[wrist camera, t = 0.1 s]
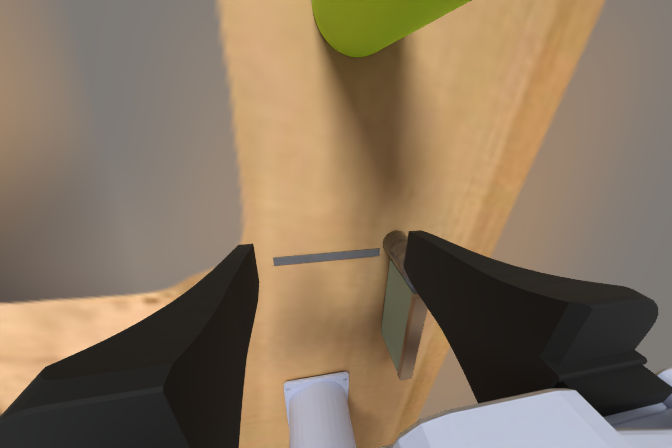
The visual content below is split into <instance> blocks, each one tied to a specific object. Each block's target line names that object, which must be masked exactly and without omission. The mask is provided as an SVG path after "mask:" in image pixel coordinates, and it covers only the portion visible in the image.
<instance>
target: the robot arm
mask: <svg viewBox="0 0 672 448" xmlns="http://www.w3.org/2000/svg"><path fill="white" fill-rule="evenodd" d="M403 267H404V269H405V271H406V274H407V276H408V278H409V280H410V282H411V284H412V285H413V287H414V289H415V290H416V292H417V293H418V295H419V296H420V298H421V299H422V300H423V302H424V303H425V305H426V306H427V308H428V309H429V311H430V312H431V314H432V315H433V317H434V318H435V320H436V321H437V323H438V324H439V326H440V328H441V329H442V331H443V333H444V334H445V336H446V338H447V340H448V342H449V344H450V346H451V348H452V349H453V351H454V353H455V355H456V357H457V359H458V361H459V363H460V365H461V367H462V369H463V372H464V374H465V375H466V378H467V380H468V382H469V385H470V387H471V389H472V391H473V393H474V395H475V398H476V400H477V402H478V404H474V405H470V406H464V407H460V408H455V409H450V410H445V411H442V412H440V413H437V414H434V415H431V416H428V417H426V418H423V419H420V420H419V421H417V422H416V423H414V424H413V425H411V426H410V427H409V428H407V429H406V430H404V431H403V432H401V433H400V434H399V436H398V438H397V439H396V441H395V442H394V444H392V445H387V446H383V447H379V448H672V367H670V368H666V369H663V370H660V371H659V372H657V373H656V374H654V373H653V372H651V371H650V370H648V369H647V368H645V367H644V366H643V364H646V362H647V359H646V358H645V357H644V356H642V355H641V354H640V353H638V352H637V351H635V348H636V347H637V346H638V345H639V343H640V342H641V341H642V339H643V338H644V337H645V336H646V334H647V333H648V332H649V330H650V329H651V327H652V326H653V324H654V323H655V321H656V319H657V316H658V307H657V304H656V303H655V302H654V301H653V300H652V299H650V298H648V297H646V296H644V295H642V294H641V293H639V292H637V291H635V290H633V289H630V288H627V287H624V286H617V285H610V284H602V283H595V282H588V281H581V280H575V279H570V278H564V277H559V276H554V275H549V274H545V273H540V272H536V271H532V270H528V269H524V268H520V267H516V266H513V265H510V264H506V263H503V262H500V261H497V260H494V259H491V258H488V257H486V256H483V255H480V254H478V253H475V252H472V251H470V250H468V249H465V248H463V247H460V246H458V245H456V244H453V243H451V242H449V241H446V240H444V239H442V238H439V237H437V236H435V235H432V234H430V233H427V232H424V231H409V234H408V240H407V247H406V253H405V260H404V266H403ZM258 292H259V278H258V271H257V265H256V259H255V252H254V246H253V244H245V245H238V246H237V247H236V248H235V249H234V250H233V251H232V252H231V253H230V254H229V255H228V256H227V257H226V258H225V259H224V260H223V261H222V262H221V263H220V264H219V265H217V266H216V267H215V268H214V269H213V270H212V271H211V272H210V273H209V274H207V275H206V276H205V277H204V278H203V279H202V280H200V281H199V282H198V283H197V284H196V285H195V286H193V287H192V288H191V289H189V290H188V291H187V292H185V293H184V294H183V295H181V296H180V297H178V298H177V299H176V300H174V301H173V302H171V303H170V304H168V305H167V306H165V307H163V308H162V309H160V310H158V311H157V312H155V313H153V314H152V315H150V316H149V317H147V318H145V319H144V320H142V321H140V322H138V323H137V324H135V325H133V326H131V327H129V328H127V329H126V330H124V331H122V332H120V333H118V334H116V335H114V336H112V337H110V338H108V339H106V340H104V341H102V342H100V343H98V344H96V345H94V346H91V347H89V348H87V349H85V350H83V351H80V352H78V353H76V354H74V355H72V356H69V357H67V358H65V359H63V360H60V361H58V362H56V363H54V364H51V365H49V366H47V367H45V368H44V369H43V370H42V371H41V372H40V373H39V374H38V375H37V377H36V378H35V379H34V380H33V381H32V382H31V383H30V384H29V385H28V386H27V388H26V389H25V390H24V391H23V392H22V393H21V394H20V395H19V396H18V398H17V399H16V400H15V401H14V402H13V403H12V404H11V405H10V406H9V407H8V409H7V410H6V411H5V412H4V413H3V414H2V415H1V416H0V448H239V435H240V422H241V410H242V398H243V387H244V377H245V367H246V359H247V353H248V347H249V342H250V337H251V333H252V328H253V323H254V318H255V313H256V308H257V303H258ZM348 388H349V373H348V372H339V373H333V374H327V375H321V376H315V377H309V378H303V379H298V380H292V381H286V382H285V383H284V395H285V402H286V410H287V418H288V425H289V448H357V447H356V442H355V438H354V433H353V428H352V423H351V418H350V413H349V408H348Z"/></svg>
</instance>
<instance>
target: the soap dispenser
mask: <svg viewBox="0 0 672 448" xmlns="http://www.w3.org/2000/svg"><path fill="white" fill-rule="evenodd" d="M469 1H471V0H312V8H313V13H314V17H315V21H316V23H317V26H318V28H319V30H320V32H321V34H322V35H323V37H324V38H325V40H326V41H327V42H328V43H329V44H330V45H331V46H332V47H333V48H334V49H335V50H337V51H338V52H340V53H342V54H344V55H347V56H350V57H365V56H369V55H372V54H374V53H376V52H377V51H379V50H381V49H383V48H385V47H387V46H388V45H390V44H392V43H394V42H396V41H398V40H400V39H401V38H403V37H405V36H407V35H409V34H411V33H412V32H414V31H416V30H418V29H420V28H422V27H423V26H425V25H427V24H429V23H431V22H433V21H434V20H436V19H438V18H440V17H442V16H444V15H445V14H447V13H449V12H451V11H453V10H455V9H456V8H458V7H460V6H462V5H464V4H466V3H467V2H469Z"/></svg>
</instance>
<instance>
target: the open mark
mask: <svg viewBox="0 0 672 448" xmlns="http://www.w3.org/2000/svg"><path fill="white" fill-rule="evenodd" d="M379 252H380V248H378V249H367V250H355V251H344V252H332V253H321V254H309V255H298V256H287V257H275V258H273V260H274V266H276V265H287V264H297V263H308V262H319V261H330V260H341V259H351V258H362V257H373V256H379Z"/></svg>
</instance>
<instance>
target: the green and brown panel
mask: <svg viewBox="0 0 672 448" xmlns="http://www.w3.org/2000/svg"><path fill="white" fill-rule="evenodd" d="M426 312H427V306H426V305H425V303H424V302H423V300H422V299H421V298H420V296H419V295H418V293H416V292H414V291H413V290H412V289H411V287H410V286H409V284H408V283H407V281H406V280H405V278H404V277H403V275H402V274H401V272H400V271H399V270H398V268H397V267H396V265H395V264H394V262H393V261H392V259H390V264H389V272H388V280H387V288H386V296H385V304H384V311H383V319H382V327H381V334H382V336H383V338H384V341H385V343H386V346H387V348H388V351H389V353H390V355H391V358H392V360H393V363H394V365H395V367H396V370H397V372H398V373H397V375H398V377H399V380H404V379H410V378H412V374H413V370H414V365H415V361H416V356H417V352H418V348H419V343H420V339H421V334H422V330H423V326H424V321H425V317H426Z"/></svg>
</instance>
